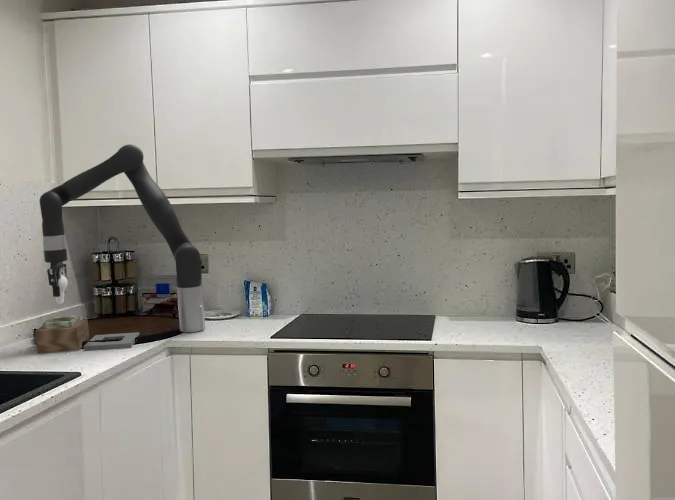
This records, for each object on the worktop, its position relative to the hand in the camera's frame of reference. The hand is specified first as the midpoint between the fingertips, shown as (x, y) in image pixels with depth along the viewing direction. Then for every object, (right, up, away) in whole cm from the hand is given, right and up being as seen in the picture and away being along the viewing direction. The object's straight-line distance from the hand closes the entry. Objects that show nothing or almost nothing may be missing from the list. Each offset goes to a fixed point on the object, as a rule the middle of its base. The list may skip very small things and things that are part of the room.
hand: (59, 294), depth 232 cm
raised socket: (+1, -19, +2) cm, 19 cm away
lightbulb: (0, -4, 0) cm, 4 cm away
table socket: (+18, -18, +4) cm, 25 cm away
